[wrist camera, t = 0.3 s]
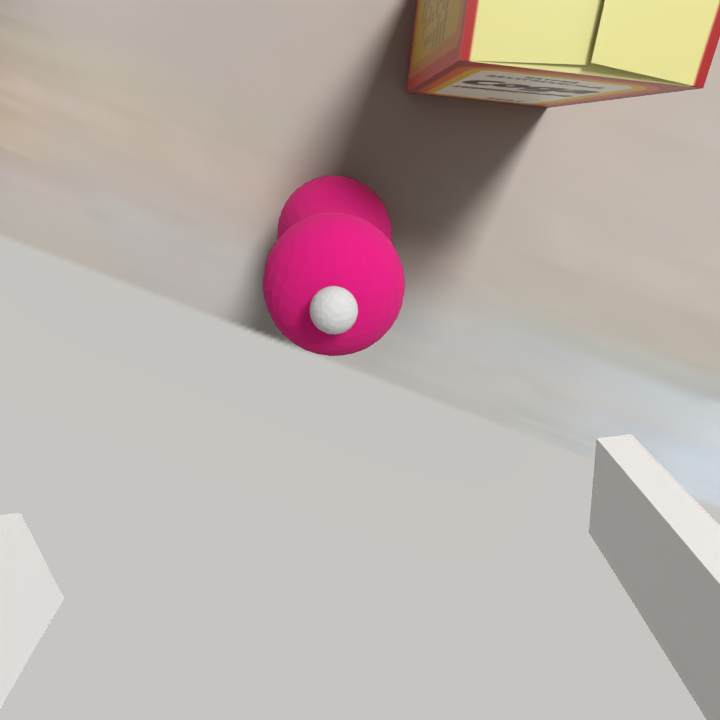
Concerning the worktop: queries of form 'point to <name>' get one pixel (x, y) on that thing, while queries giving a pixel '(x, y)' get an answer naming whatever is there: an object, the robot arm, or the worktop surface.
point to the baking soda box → (561, 49)
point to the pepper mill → (334, 268)
